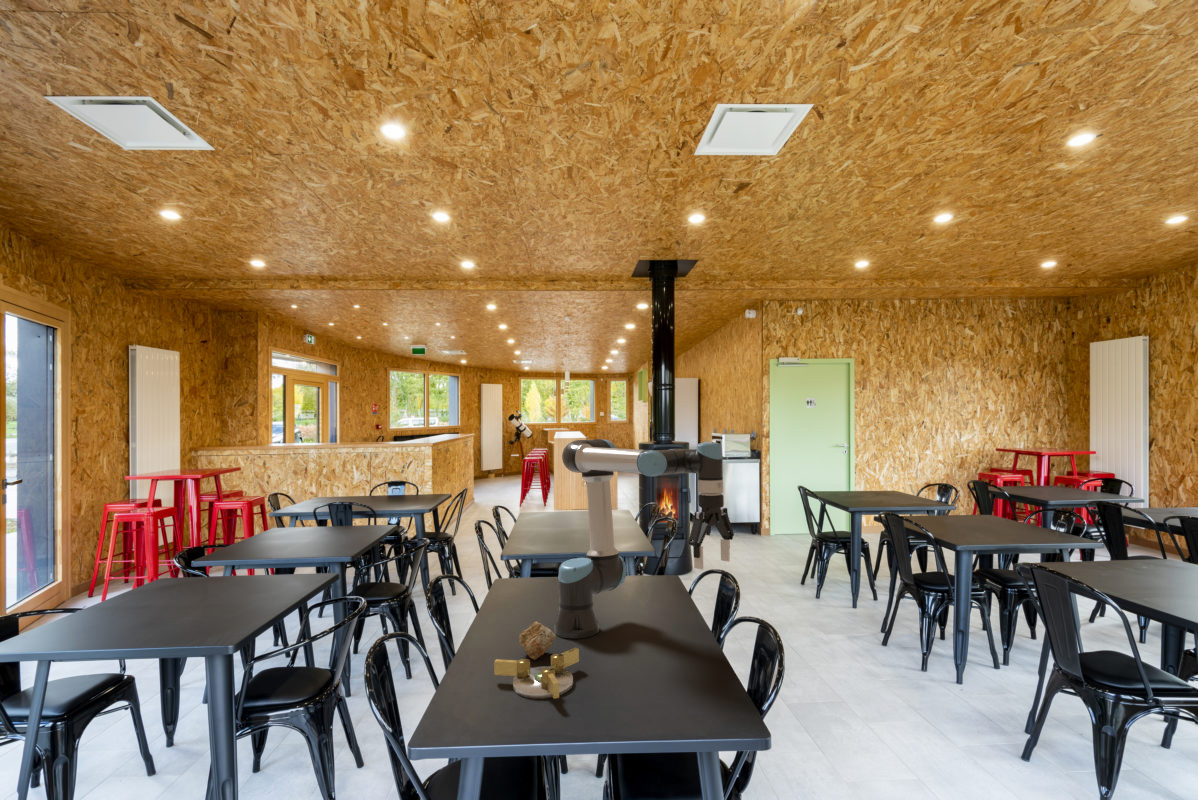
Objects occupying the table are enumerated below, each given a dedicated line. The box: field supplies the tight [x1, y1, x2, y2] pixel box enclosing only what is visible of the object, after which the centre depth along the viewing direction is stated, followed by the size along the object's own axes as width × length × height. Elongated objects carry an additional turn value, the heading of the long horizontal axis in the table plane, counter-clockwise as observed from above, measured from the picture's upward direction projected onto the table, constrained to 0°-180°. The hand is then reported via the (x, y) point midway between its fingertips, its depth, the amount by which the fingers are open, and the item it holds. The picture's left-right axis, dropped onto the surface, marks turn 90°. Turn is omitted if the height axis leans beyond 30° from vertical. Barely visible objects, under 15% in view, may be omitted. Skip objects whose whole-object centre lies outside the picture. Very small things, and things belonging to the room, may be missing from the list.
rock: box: [518, 621, 557, 661], centre depth 174 cm, size 12×10×10 cm
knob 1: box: [493, 658, 531, 679], centre depth 156 cm, size 10×4×4 cm, turn 80°
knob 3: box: [550, 647, 580, 674], centre depth 161 cm, size 10×4×4 cm, turn 140°
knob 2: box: [541, 668, 560, 700], centre depth 146 cm, size 10×4×4 cm, turn 20°
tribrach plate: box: [512, 665, 574, 700], centre depth 154 cm, size 16×16×3 cm
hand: (712, 564), depth 174 cm, fingers open, 13 cm apart
